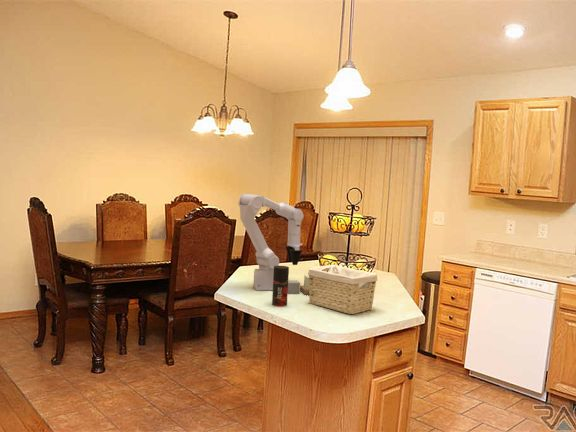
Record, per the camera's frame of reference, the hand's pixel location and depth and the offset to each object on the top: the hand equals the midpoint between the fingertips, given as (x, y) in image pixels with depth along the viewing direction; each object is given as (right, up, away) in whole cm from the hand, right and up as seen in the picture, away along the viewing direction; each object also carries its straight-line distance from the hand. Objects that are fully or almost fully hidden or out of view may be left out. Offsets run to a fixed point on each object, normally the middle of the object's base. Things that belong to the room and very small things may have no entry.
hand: (293, 263), depth 227 cm
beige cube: (+8, -9, -13) cm, 18 cm away
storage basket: (+18, -14, -32) cm, 40 cm away
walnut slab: (+8, -12, -13) cm, 20 cm away
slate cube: (0, -12, -14) cm, 18 cm away
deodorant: (-6, -13, -34) cm, 37 cm away
